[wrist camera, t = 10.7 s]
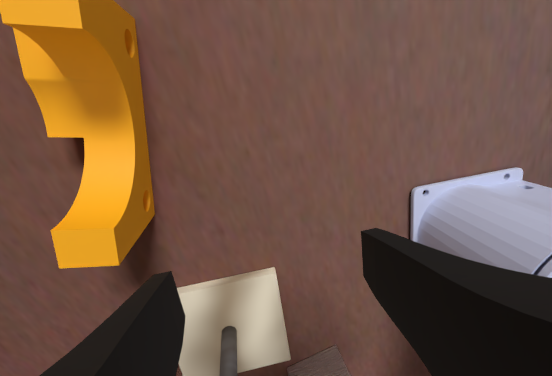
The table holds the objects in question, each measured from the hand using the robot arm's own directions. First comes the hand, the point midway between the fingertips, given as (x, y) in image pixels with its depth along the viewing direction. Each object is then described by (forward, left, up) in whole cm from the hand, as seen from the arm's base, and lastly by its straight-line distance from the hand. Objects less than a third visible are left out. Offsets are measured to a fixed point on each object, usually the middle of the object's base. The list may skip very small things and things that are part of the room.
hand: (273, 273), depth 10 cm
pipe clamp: (+8, -6, -10) cm, 14 cm away
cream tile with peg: (+4, +11, -10) cm, 15 cm away
